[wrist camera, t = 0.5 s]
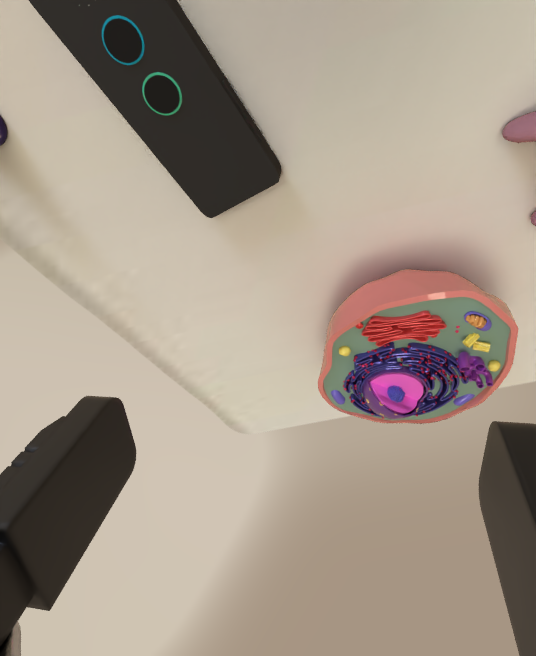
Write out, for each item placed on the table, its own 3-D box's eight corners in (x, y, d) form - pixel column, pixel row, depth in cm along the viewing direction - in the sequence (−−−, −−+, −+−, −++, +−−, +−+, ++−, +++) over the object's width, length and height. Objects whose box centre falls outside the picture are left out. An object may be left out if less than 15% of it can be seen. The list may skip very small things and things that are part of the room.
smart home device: (97, -108, 25) (284, 180, 36) (109, -110, 26) (286, 169, 38) (15, -11, 29) (206, 221, 40) (28, -17, 30) (210, 211, 42)
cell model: (546, 277, 42) (589, 373, 34) (410, 383, 56) (419, 468, 48) (394, 198, 38) (404, 286, 31) (289, 333, 52) (278, 416, 45)
